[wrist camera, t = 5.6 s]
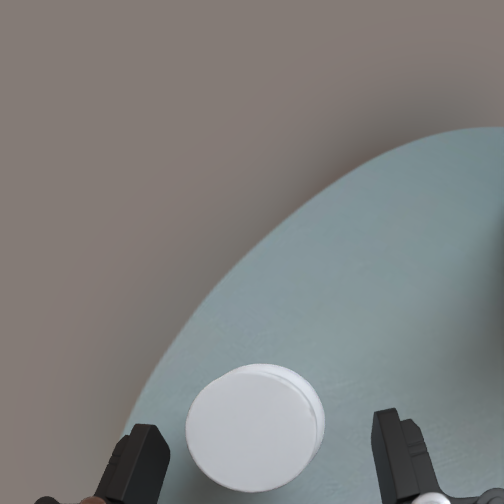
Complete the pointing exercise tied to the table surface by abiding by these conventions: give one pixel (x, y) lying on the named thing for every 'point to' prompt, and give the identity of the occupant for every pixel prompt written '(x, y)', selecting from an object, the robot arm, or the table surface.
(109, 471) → the robot arm
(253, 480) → the pill bottle
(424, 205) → the table surface
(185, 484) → the table surface
